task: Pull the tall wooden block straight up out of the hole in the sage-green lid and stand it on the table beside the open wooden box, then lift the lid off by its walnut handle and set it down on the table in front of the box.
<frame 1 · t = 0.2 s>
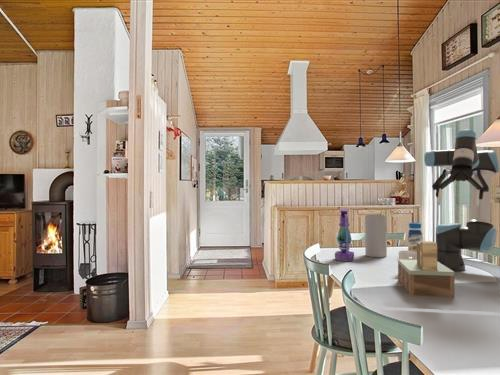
hand: (457, 204, 150), 36 cm above the table, tool tilted 35°, fingers open, 13 cm apart
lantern: (344, 260, 220), on the table
beverage bottle: (415, 255, 232), on the table
open wooden box: (424, 290, 155), on the table
tall wooden block: (428, 292, 149), point 1 cm above the table, touching open wooden box
cylinder vase: (376, 256, 231), on the table
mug: (409, 276, 181), on the table
lid: (424, 268, 155), point 9 cm above the table, touching open wooden box
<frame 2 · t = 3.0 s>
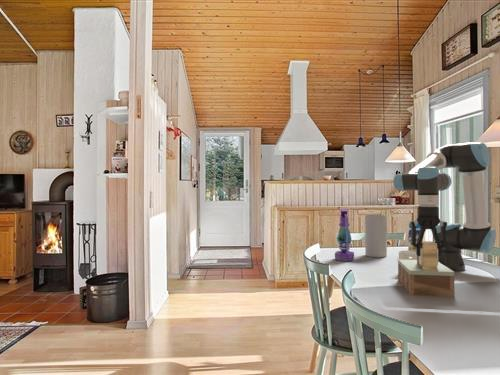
hand: (428, 264, 149), 12 cm above the table, tool pointing down, fingers closed on tall wooden block, 5 cm apart
tall wooden block: (428, 292, 149), point 1 cm above the table, touching gripper, open wooden box
everything else where it was.
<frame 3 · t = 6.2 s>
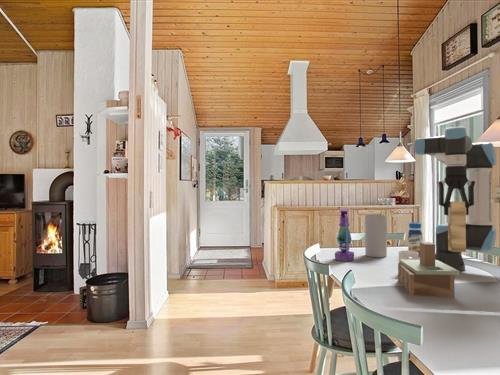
hand: (456, 223, 152), 28 cm above the table, tool pointing down, fingers closed on tall wooden block, 5 cm apart
tall wooden block: (457, 251, 151), point 17 cm above the table, touching gripper
lid: (427, 268, 156), point 9 cm above the table, touching open wooden box
everything else where it was.
when the fingers open (13 cm above the table, at t = 9.9 s): tall wooden block drops 2 cm, on the table.
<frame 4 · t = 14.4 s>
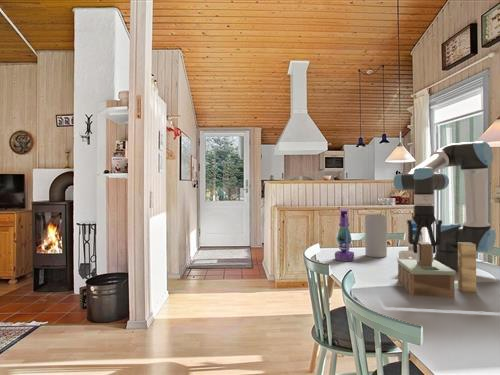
hand: (424, 261, 155), 12 cm above the table, tool pointing down
tall wooden block: (467, 292, 152), on the table
lid: (424, 268, 156), point 9 cm above the table, touching gripper
everything else where it was.
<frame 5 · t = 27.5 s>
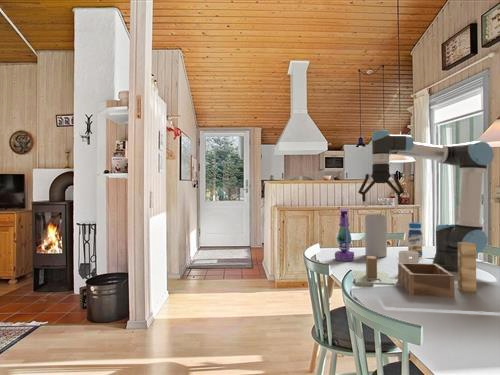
hand: (381, 208, 175), 33 cm above the table, tool pointing down, fingers open, 13 cm apart
lid: (371, 279, 173), on the table
everything else where it was.
at the end: tall wooden block inside the target area (0.6 cm from its centre), on the table; lid inside the target area (0.9 cm from its centre), on the table; lid touching table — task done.
